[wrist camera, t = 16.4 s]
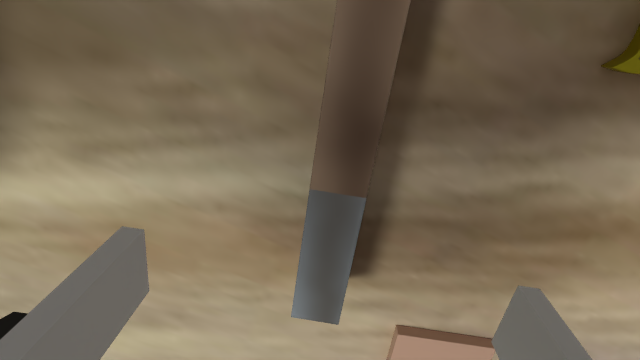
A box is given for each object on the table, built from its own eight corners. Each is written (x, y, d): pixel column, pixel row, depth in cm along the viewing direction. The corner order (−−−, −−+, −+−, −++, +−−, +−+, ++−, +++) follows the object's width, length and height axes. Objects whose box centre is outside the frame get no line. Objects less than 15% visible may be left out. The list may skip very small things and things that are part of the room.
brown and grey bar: (300, 270, 35) (291, 316, 29) (349, -65, 23) (350, -92, 18) (339, 277, 35) (338, 324, 29) (409, -55, 23) (428, -80, 18)
